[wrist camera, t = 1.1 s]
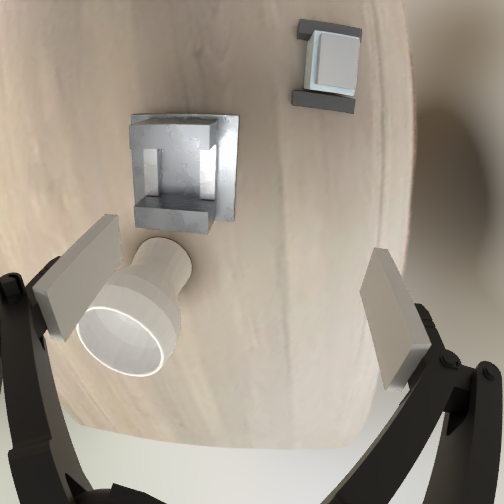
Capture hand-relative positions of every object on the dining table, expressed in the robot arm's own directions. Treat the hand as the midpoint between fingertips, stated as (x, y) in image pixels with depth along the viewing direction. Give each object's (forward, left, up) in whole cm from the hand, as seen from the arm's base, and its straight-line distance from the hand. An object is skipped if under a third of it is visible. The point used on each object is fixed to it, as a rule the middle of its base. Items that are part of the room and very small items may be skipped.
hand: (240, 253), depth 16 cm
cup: (+15, -12, -20) cm, 28 cm away
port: (+2, -9, -20) cm, 22 cm away
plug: (-10, +5, -20) cm, 23 cm away
